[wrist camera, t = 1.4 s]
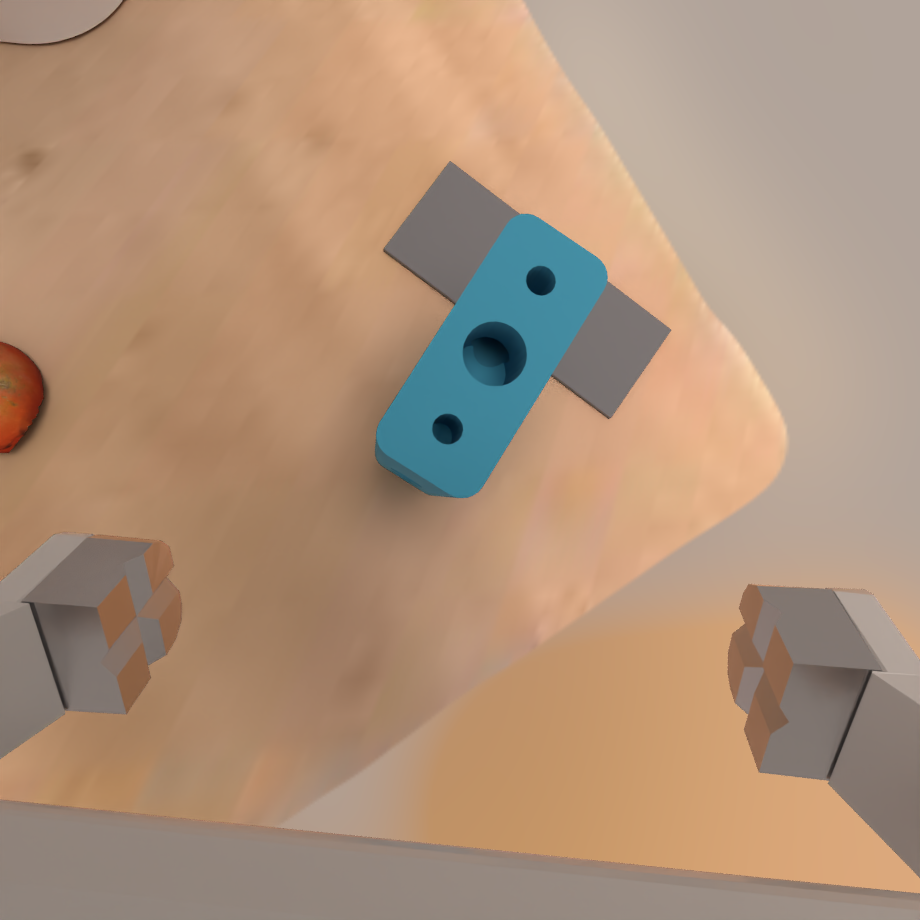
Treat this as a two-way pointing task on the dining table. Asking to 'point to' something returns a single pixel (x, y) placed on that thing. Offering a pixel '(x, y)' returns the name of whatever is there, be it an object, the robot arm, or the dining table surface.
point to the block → (490, 360)
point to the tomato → (17, 395)
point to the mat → (465, 247)
